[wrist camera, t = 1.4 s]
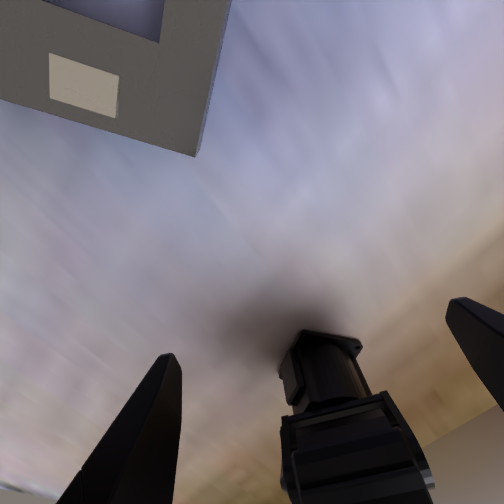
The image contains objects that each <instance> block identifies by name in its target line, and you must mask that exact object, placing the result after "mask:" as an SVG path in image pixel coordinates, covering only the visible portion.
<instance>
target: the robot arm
mask: <svg viewBox="0 0 504 504" xmlns="http://www.w3.org/2000/svg"><path fill="white" fill-rule="evenodd" d="M445 319H446V323H447V325H448V327H449V328H450V330H451V332H452V334H453V335H454V337H455V339H456V341H457V342H458V344H459V346H460V348H461V349H462V351H463V353H464V354H465V356H466V358H467V360H468V361H469V363H470V365H471V366H472V368H473V369H474V371H475V372H476V374H477V375H478V377H479V378H480V379H481V381H482V382H483V384H484V385H485V386H486V388H487V389H488V391H489V392H490V393H491V395H492V396H493V397H494V399H495V400H496V402H497V403H498V404H499V406H500V407H501V408H502V410H503V411H504V314H502V313H500V312H497V311H495V310H493V309H491V308H489V307H487V306H485V305H482V304H480V303H478V302H476V301H474V300H472V299H469V298H467V297H459V298H454V299H451V300H450V301H449V305H448V308H447V312H446V316H445ZM304 335H305V336H304ZM362 348H363V346H362V344H361V342H360V341H356V340H352V339H347V338H342V337H337V336H332V335H327V334H322V333H317V332H312V331H307V330H302V331H300V332H299V334H298V336H297V338H296V340H295V341H294V343H293V345H292V347H291V348H290V349H289V350H288V352H287V354H286V356H285V358H284V360H283V362H282V364H281V369H280V371H279V378H280V379H282V380H283V384H284V390H285V396H286V402H287V404H288V405H289V406H292V408H293V414H294V415H291V416H288V415H286V416H282V417H281V418H282V426H281V427H280V429H281V430H280V437H281V449H282V463H281V476H280V483H281V488H282V490H283V491H284V492H285V493H286V494H288V495H289V498H290V501H291V503H292V504H433V502H432V499H431V497H430V494H429V492H428V490H431V489H434V488H435V485H434V480H433V477H432V474H431V471H430V468H429V465H428V463H427V460H426V458H425V456H424V453H423V451H422V449H421V447H420V445H419V443H418V441H417V439H416V437H415V435H414V434H413V432H412V430H411V429H410V427H409V425H408V424H407V422H406V421H405V419H404V417H403V416H402V414H401V413H400V411H399V409H398V408H397V406H396V405H395V403H394V401H393V400H392V398H391V397H390V395H389V393H388V392H387V390H385V391H381V392H380V393H379V394H375V395H372V393H371V391H370V389H369V387H368V384H367V382H366V380H365V378H364V376H363V373H362V371H361V369H360V367H359V365H358V363H357V360H356V357H357V356H358V354H359V353H360V351H361V350H362ZM181 420H182V370H181V367H180V365H179V363H178V361H177V359H176V357H175V355H174V354H173V353H166V354H162V355H160V356H159V357H158V358H157V359H156V361H155V362H154V364H153V365H152V367H151V368H150V370H149V371H148V372H147V374H146V375H145V377H144V378H143V380H142V381H141V383H140V384H139V385H138V387H137V388H136V390H135V391H134V393H133V394H132V395H131V397H130V398H129V400H128V401H127V403H126V404H125V406H124V407H123V408H122V410H121V411H120V413H119V414H118V416H117V417H116V418H115V420H114V421H113V423H112V424H111V426H110V427H109V429H108V430H107V431H106V433H105V434H104V436H103V437H102V439H101V440H100V441H99V443H98V444H97V446H96V447H95V449H94V450H93V452H92V453H91V454H90V456H89V457H88V459H87V460H86V462H85V463H84V465H83V466H82V468H81V470H80V471H79V472H78V473H77V474H76V476H75V477H74V479H73V480H72V482H71V483H70V484H69V486H68V487H67V489H66V490H65V491H64V493H63V494H62V496H61V497H60V498H59V500H58V501H57V503H56V504H172V501H173V492H174V484H175V475H176V466H177V458H178V449H179V440H180V432H181Z"/></svg>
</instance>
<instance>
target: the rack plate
mask: <svg viewBox="0 0 504 504" xmlns="http://www.w3.org/2000/svg"><path fill="white" fill-rule="evenodd" d="M231 1H232V0H165V2H164V9H163V17H162V25H161V32H160V40H159V43H157V42H154V41H151V40H148V39H146V38H143V37H140V36H138V35H135V34H132V33H129V32H127V31H124V30H121V29H118V28H116V27H113V26H110V25H107V24H105V23H102V22H99V21H97V20H94V19H91V18H88V17H86V16H83V15H80V14H77V13H75V12H72V11H69V10H67V9H64V8H61V7H58V6H56V5H53V4H50V3H47V2H45V1H43V0H0V99H2V100H6V101H9V102H12V103H16V104H19V105H22V106H26V107H29V108H32V109H36V110H39V111H42V112H46V113H49V114H52V115H56V116H59V117H62V118H66V119H69V120H72V121H76V122H79V123H82V124H86V125H89V126H92V127H96V128H99V129H102V130H106V131H109V132H112V133H116V134H119V135H122V136H126V137H129V138H132V139H136V140H139V141H142V142H146V143H149V144H152V145H156V146H159V147H162V148H166V149H169V150H172V151H176V152H179V153H182V154H186V155H189V156H192V157H195V156H196V155H197V153H198V152H199V150H200V145H201V141H202V136H203V131H204V127H205V122H206V117H207V113H208V108H209V103H210V99H211V94H212V89H213V85H214V80H215V75H216V71H217V66H218V61H219V57H220V52H221V48H222V43H223V38H224V34H225V29H226V24H227V20H228V15H229V10H230V6H231Z"/></svg>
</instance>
